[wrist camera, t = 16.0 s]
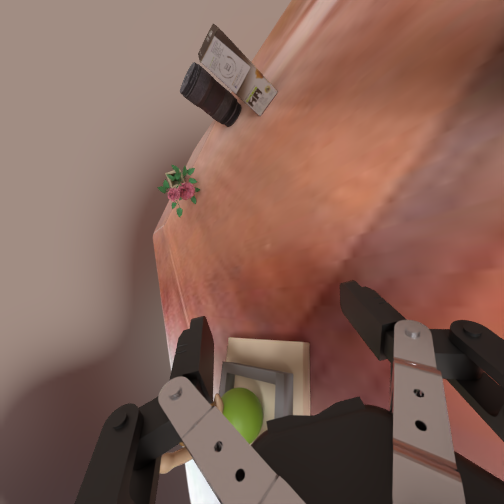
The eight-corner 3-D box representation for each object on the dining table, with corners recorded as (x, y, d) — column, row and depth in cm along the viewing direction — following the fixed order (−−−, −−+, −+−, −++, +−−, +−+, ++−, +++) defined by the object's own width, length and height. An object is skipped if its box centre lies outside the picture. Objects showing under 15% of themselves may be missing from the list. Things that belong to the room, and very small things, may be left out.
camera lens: (222, 131, 70) (176, 96, 61) (233, 105, 69) (188, 66, 60) (234, 127, 63) (184, 88, 54) (246, 100, 63) (198, 55, 54)
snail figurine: (236, 433, 28) (135, 455, 21) (247, 378, 30) (156, 382, 23) (265, 464, 24) (151, 505, 17) (277, 399, 26) (176, 411, 18)
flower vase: (204, 182, 89) (218, 190, 58) (182, 204, 90) (184, 224, 58) (181, 157, 84) (182, 152, 53) (158, 181, 84) (145, 189, 53)
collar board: (234, 337, 36) (220, 336, 34) (309, 342, 26) (294, 341, 24) (219, 487, 29) (201, 493, 28) (312, 570, 19) (292, 588, 18)
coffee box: (278, 91, 50) (218, 26, 41) (260, 117, 53) (199, 62, 44) (267, 81, 56) (212, 22, 47) (251, 105, 59) (196, 54, 50)
